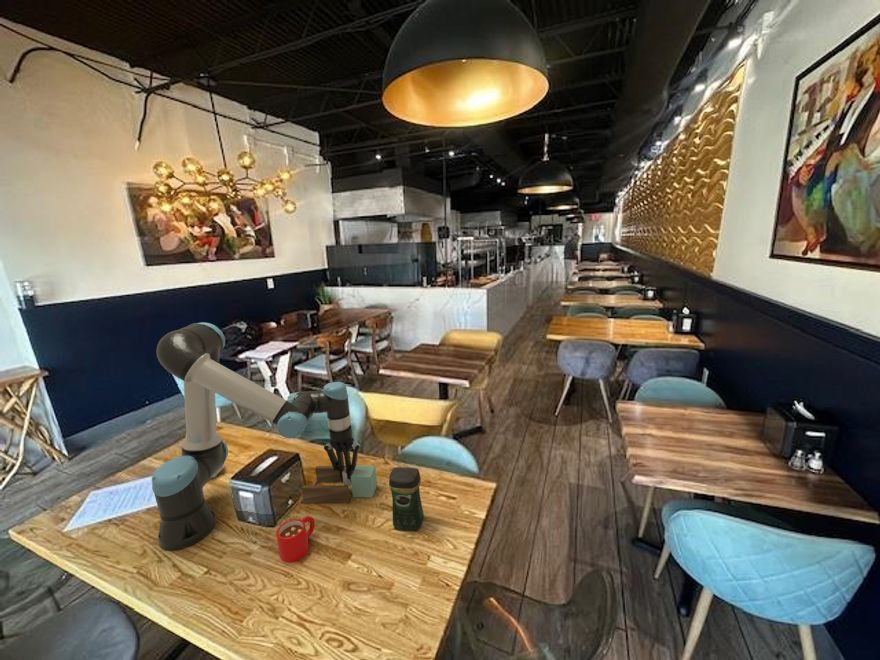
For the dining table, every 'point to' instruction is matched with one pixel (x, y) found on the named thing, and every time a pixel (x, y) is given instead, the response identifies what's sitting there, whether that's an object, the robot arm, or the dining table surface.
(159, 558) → the dining table surface
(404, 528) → the coffee jar
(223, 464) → the die
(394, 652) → the dining table surface
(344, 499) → the dark wooden parallel walls
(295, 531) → the mug
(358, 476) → the block
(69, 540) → the dining table surface
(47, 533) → the dining table surface
